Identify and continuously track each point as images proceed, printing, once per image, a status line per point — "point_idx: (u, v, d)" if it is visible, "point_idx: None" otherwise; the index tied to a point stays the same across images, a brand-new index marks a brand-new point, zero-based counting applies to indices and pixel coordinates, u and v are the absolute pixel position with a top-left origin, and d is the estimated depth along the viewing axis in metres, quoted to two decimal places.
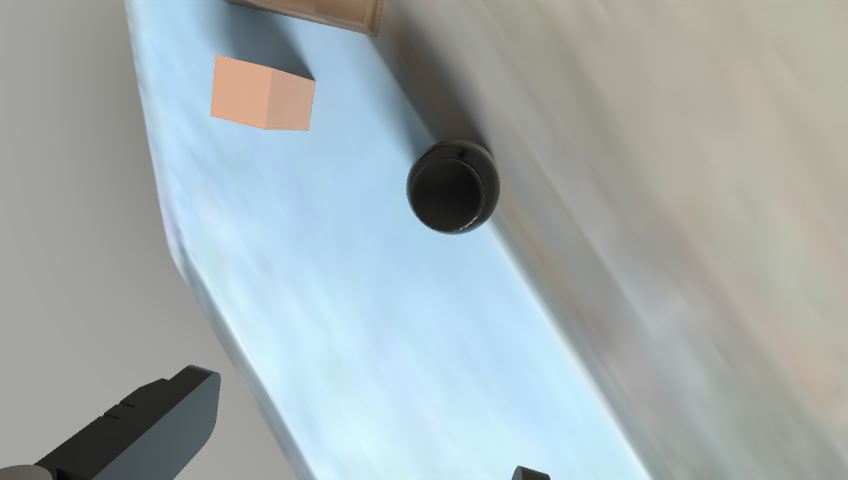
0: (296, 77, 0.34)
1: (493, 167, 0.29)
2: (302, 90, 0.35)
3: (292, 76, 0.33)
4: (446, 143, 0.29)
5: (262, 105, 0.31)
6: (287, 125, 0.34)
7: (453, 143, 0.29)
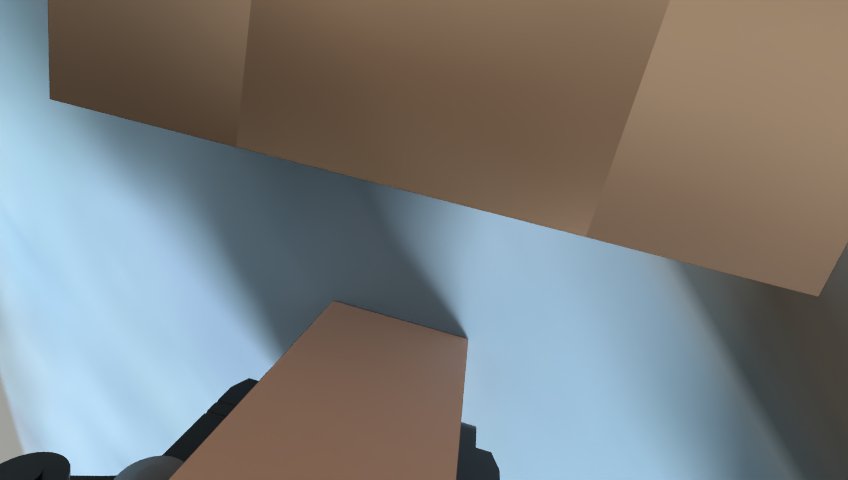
0: None
1: None
2: None
3: (456, 454, 0.08)
4: None
5: None
6: None
7: None
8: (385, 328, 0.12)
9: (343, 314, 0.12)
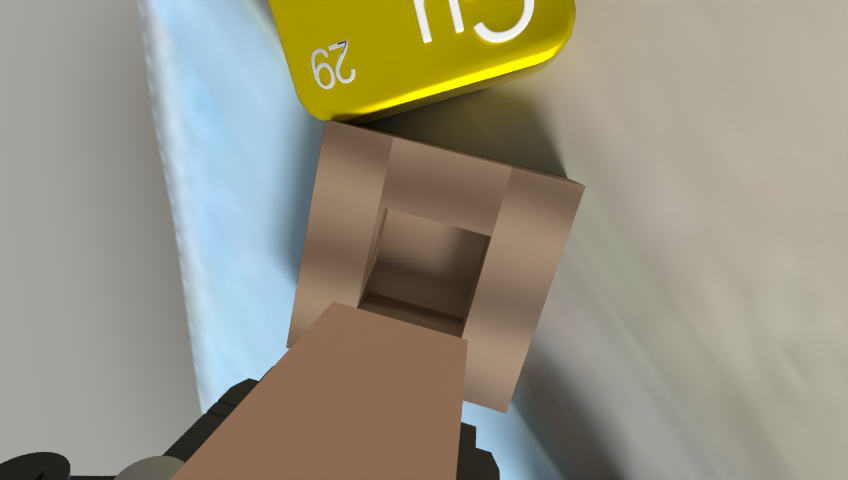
0: None
1: None
2: None
3: (456, 455, 0.08)
4: None
5: None
6: None
7: None
8: (385, 329, 0.12)
9: (343, 315, 0.12)
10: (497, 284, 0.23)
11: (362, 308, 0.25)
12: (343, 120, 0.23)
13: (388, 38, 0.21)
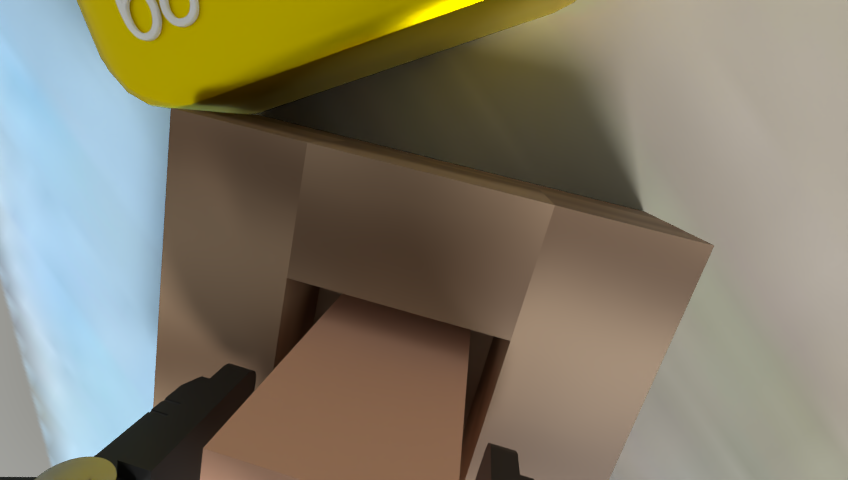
0: None
1: None
2: None
3: (464, 404, 0.10)
4: None
5: None
6: None
7: None
8: None
9: None
10: (521, 429, 0.12)
11: None
12: (191, 104, 0.12)
13: None
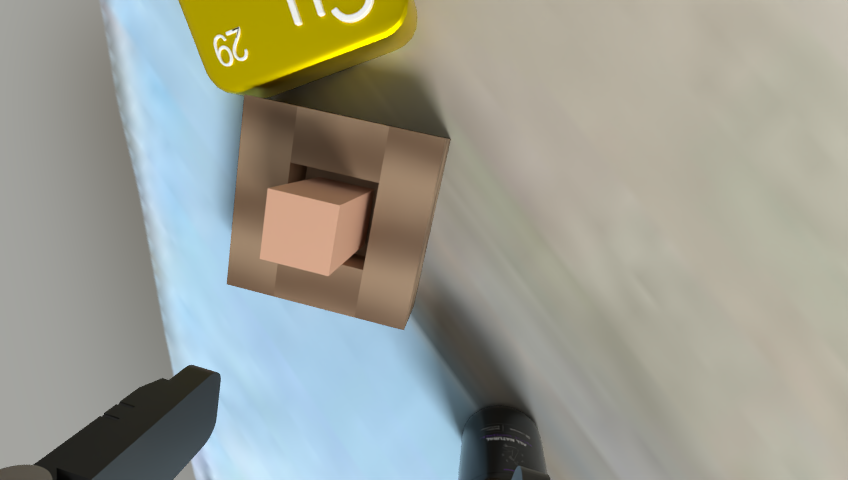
0: (359, 198, 0.28)
1: None
2: (363, 208, 0.29)
3: (356, 199, 0.27)
4: None
5: (326, 248, 0.24)
6: (348, 253, 0.28)
7: None
8: (340, 183, 0.31)
9: (323, 179, 0.31)
10: (387, 222, 0.29)
11: None
12: (243, 91, 0.29)
13: (270, 23, 0.27)
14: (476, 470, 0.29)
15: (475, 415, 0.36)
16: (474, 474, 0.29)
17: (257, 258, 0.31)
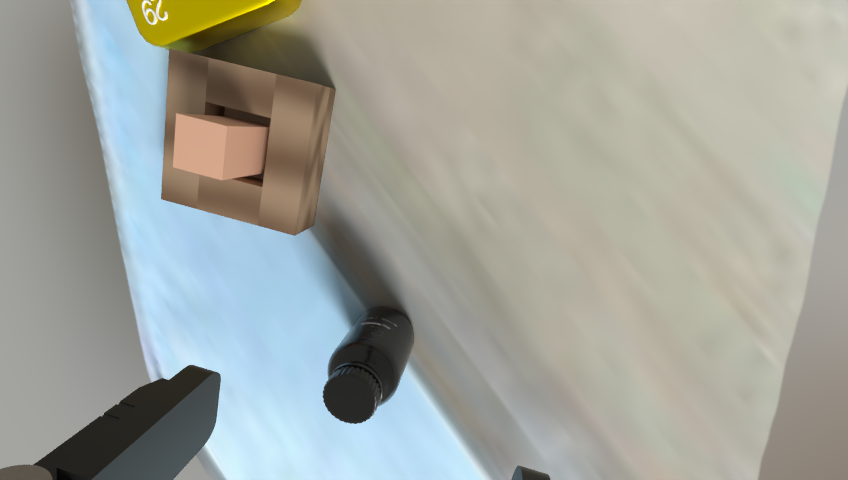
0: (254, 128, 0.37)
1: (392, 363, 0.37)
2: (261, 138, 0.38)
3: (250, 128, 0.36)
4: (355, 344, 0.37)
5: (219, 158, 0.33)
6: (246, 171, 0.37)
7: (361, 345, 0.37)
8: (248, 121, 0.40)
9: (236, 118, 0.40)
10: (278, 149, 0.38)
11: None
12: (166, 44, 0.38)
13: None
14: (344, 340, 0.39)
15: (362, 314, 0.45)
16: (342, 342, 0.38)
17: (183, 178, 0.40)
